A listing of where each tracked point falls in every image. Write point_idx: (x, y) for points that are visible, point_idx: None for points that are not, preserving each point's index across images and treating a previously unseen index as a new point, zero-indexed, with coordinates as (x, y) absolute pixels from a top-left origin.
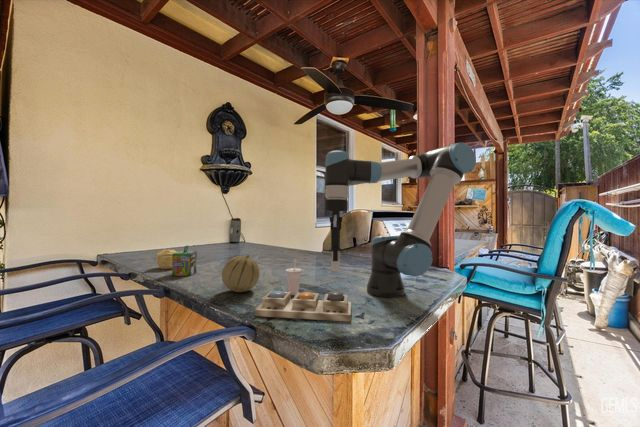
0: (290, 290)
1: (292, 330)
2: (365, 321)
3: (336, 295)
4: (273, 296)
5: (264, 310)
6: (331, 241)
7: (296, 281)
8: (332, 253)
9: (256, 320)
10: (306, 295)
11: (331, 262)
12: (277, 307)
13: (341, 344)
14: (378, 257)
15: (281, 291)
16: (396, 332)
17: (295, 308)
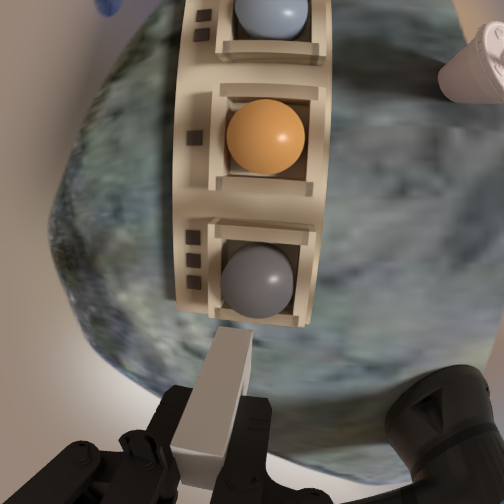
0: (445, 66)
1: (104, 135)
2: (194, 338)
3: (224, 289)
4: (236, 2)
5: (184, 11)
6: (20, 490)
7: (468, 83)
8: (179, 432)
9: (161, 12)
10: (247, 141)
11: (203, 367)
12: (214, 39)
13: (70, 265)
14: (444, 494)
15: (299, 17)
16: (150, 382)
17: (209, 106)
